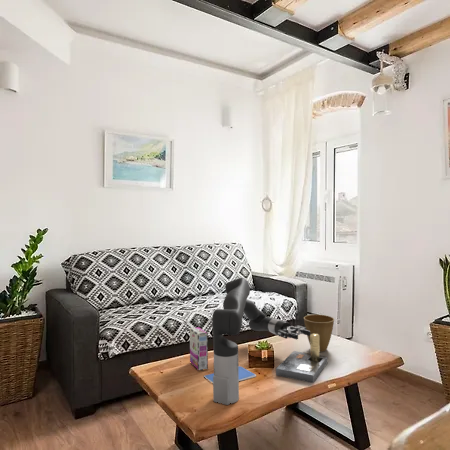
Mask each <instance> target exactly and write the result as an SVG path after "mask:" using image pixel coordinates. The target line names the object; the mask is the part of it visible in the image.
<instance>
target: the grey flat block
mask: <svg viewBox="0 0 450 450" xmlns="http://www.w3.org/2000/svg"><path fill="white" fill-rule="evenodd" d="M327 364H328V356H327V355H322V354H320V362H316V361H311V356H310V353H308V352H303V351H297V350H293V351H292V352H291V353H290V354H289V355H288V356H287V357H286V358H285V359H284V360H283V361H282V362H280V364H279V365H278V366H277V367H275V376H277V377H283V378H287V379H292V380H296V381H297V380H298V381H303V382H308V383H312V384H313V383H314V382H315V381H316V380H317V378H318V377H319V375H320V374H321V373H322V371H324V368H325V367H326V365H327Z"/></svg>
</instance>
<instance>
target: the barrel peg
mask: <svg viewBox="0 0 450 450" xmlns="http://www.w3.org/2000/svg"><path fill="white" fill-rule="evenodd" d="M309 346H310V347H309V348H310V356H311V361H316V362H320V355H321V352H320V346H319V334H310V343H309Z"/></svg>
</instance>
